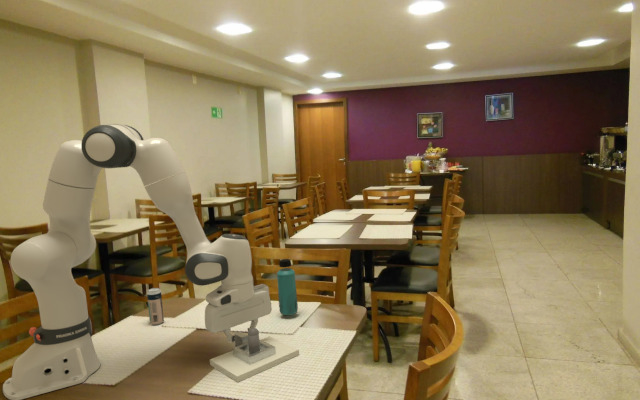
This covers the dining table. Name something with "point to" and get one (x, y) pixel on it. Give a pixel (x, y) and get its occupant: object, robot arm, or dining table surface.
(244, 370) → the board
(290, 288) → the beverage bottle
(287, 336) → the dining table surface
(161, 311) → the beer can
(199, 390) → the dining table surface
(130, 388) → the dining table surface
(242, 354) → the steel link
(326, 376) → the dining table surface
